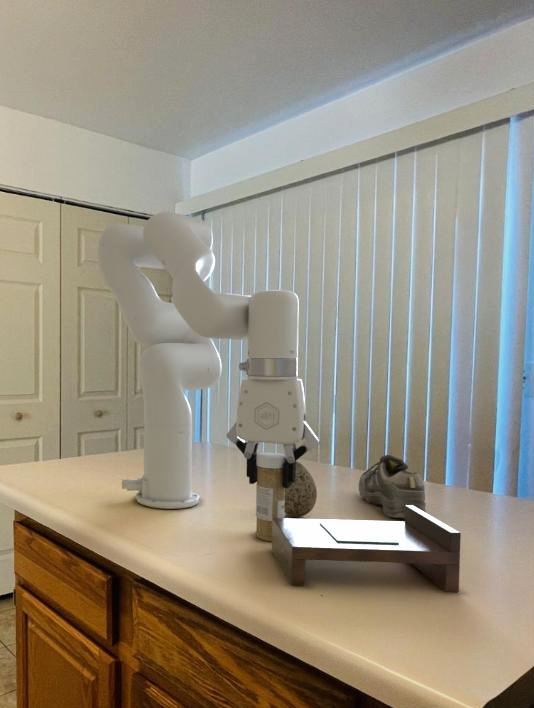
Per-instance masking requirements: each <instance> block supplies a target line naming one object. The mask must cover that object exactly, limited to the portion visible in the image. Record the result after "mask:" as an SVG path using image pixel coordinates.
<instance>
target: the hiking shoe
mask: <svg viewBox="0 0 534 708" xmlns="http://www.w3.org/2000/svg"><path fill="white" fill-rule="evenodd" d="M372 469H374V470H372ZM408 469H409V466H408V464H407V463H406V462H405V461H404V459H402V458H400V457H397V456H394V455H391V454H386V455H382V456H381V457H379V461H378V462H375V464H373V465H371V467H370V468H368V469H367V470H366V471H364V472H363V473H362V474H361V476H360V477H359V481H358V492H359V496H360V497H361V499H362V500H365V501H366V502H367V503H369V504H371V503H372V505H376V506H381V505H382V511H383V514H384V515H386V516H387V517H389V518H396V519H405V505H413V506H415V507H417V508H418V509H420V510H422V511H424V512H425V513H427V510H426V505H427V503H426V502H425V500H426V495H425V494H426V493H425V492H426V491H425V484H424V480H423V478H422V476H421V475H420V473H419V472H411V471H408Z"/></svg>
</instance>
